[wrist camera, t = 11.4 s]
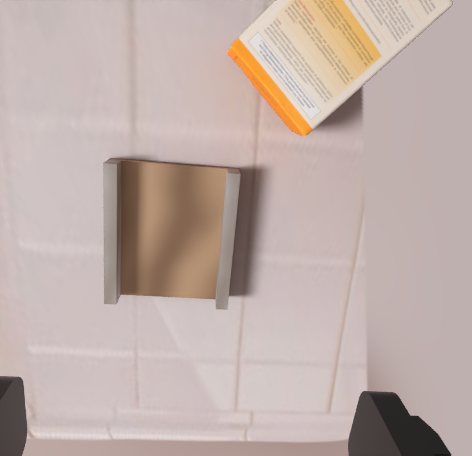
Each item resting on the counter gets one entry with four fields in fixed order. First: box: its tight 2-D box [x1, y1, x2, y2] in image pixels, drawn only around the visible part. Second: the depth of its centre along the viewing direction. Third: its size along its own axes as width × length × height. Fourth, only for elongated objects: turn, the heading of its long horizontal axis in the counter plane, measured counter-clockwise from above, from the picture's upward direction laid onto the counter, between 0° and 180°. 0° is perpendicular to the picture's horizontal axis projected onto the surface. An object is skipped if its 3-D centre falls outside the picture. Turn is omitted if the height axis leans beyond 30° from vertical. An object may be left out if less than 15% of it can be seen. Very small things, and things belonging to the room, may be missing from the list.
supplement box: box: [227, 0, 453, 136], centre depth 29 cm, size 8×5×13 cm
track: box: [103, 158, 241, 310], centre depth 34 cm, size 10×12×2 cm
